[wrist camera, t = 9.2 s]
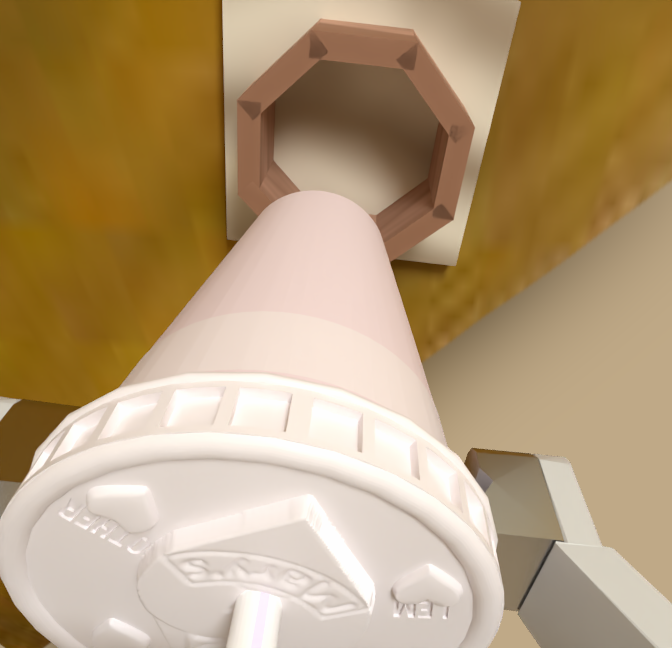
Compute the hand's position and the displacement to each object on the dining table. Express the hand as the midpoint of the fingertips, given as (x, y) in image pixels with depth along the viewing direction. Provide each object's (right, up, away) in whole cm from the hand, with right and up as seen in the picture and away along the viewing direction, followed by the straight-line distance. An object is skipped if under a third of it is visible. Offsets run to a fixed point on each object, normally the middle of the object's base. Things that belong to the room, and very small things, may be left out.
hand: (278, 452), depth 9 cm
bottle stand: (+2, +12, +19) cm, 23 cm away
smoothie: (0, +4, +6) cm, 7 cm away
